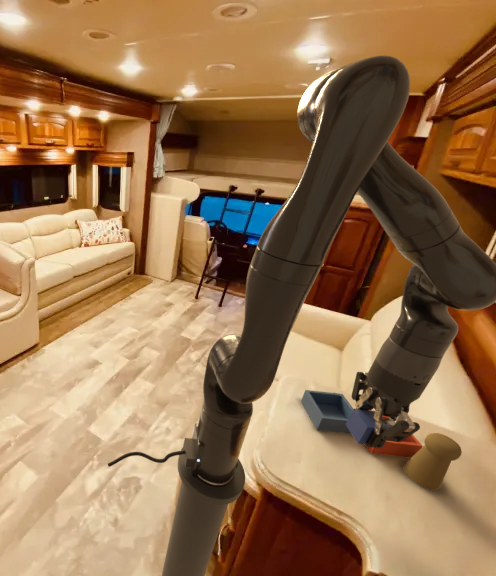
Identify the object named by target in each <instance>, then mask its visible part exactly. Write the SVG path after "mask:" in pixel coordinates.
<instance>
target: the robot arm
mask: <svg viewBox="0 0 496 576" xmlns="http://www.w3.org/2000/svg"><path fill="white" fill-rule="evenodd" d="M410 91H411V78H410V74H409V70H408V68H407V66H406V65H405V64H404V62H403V61H401V60H400V59H399V58H397V57H394V56H392V55H385V54H383V55H374V56H370V57H365V58H363V59H359V60H357V61H354V62H351V63H349V64H346V65H343V66H341V67H339V68H336V69H334V70H331V71H329V72H326V73H325V74H323V75H322V76H320V77H318V78H317V79H316V80H314V81H313V82H312V83H311V84H310V85H309V86H308V87H307V89H306V90H305V92H304V93H303V95H302V96H301V99H300V100H299V104H298V108H297V115H296V117H297V125H298V128H299V130H300V132H301V133H302V135H303V136H304V137H305V138H306V139H307V140H308V141H309V142H310V143H311V148H310V150H309V153H308V156H307V159H306V161H305V164H304V167H303V169H302V172H301V174H300V176H299V179H298V181H297V183H296V185H295V187H294V188H293V189H292V191H291V192H290V194H289V195H288V197H287V198H286V200H285V201H284V202H283V204H282V205H281V207H280V208H279V209H278V210H277V212H276V213H275V214H274V215H273V216H272V218H271V220H270V221H269V222H268V223H267V225H266V227H265V228H264V230H263V232H262V234H261V236H260V237H259V239H258V243H257V245H256V247H255V251H254V253H253V256H252V258H251V261H250V264H249V267H248V270H247V275H246V280H245V291H244V292H245V293H244V294H245V295H244V318H243V319H244V320H243V327H242V331H241V334H239V333H231V334H228V335H224V336H222V337H220V338H219V339H218V340H216V342H215V343H214V344H213V345H212V347H211V348H210V350H209V353H208V355H207V359H206V365H205V371H204V377H203V383H202V393H203V394H202V395H203V401H202V406H201V410H200V414H199V418H198V423H194V428H193V432H192V437H191V438H190V437H184V439H183V445H182V448H183V449H184V450H182V451H181V450H177V451H172V452H170V453H167V454H166V455H165V456H164V457H163V458H156V457H153V456H152V455H149V454H147V453H145V452H141V451H131V452H126V453H124V454H122V455H121V456H119V457H117V458H116V459H114V460H112V461H110V462H107V467H108V468H110V467H112V466H114V465H116V464H117V463H119V462H121V461H123V460H124V459H127V458H129V457H135V456H138V457H143V458H145V459H147V460H149V461H151V462H154V463H157V464H164V463H166V462H167V461H168V460H169V459H171V458H172V457H176V456H179V455H182V454H184V458H185V467H191V473H192V476H193V477H197V478H198V479H199V480H201V481H202V482H204V483H205V484H207V485H210V486H214V487H222V486H225V485H227V484H229V483H230V482H231V480H232V478H233V475H234V471H235V467H236V469H237V466H238V463H237V460H238V459H239V457H240V454H241V451H242V448H243V445H244V443H245V439H246V436H247V432H248V429H249V426H250V423H251V420H252V416H253V413H254V405H253V403H254V402H256V401H258V400H260V399H261V398H262V397H263V396H264V395H266V394H267V393H268V391H269V390H270V388H271V386H272V385H273V383H274V380H275V378H276V375H277V372H278V370H279V366H280V362H281V359H282V356H283V353H284V350H285V347H286V345H287V342H288V339H289V337H290V335H291V332H292V330H293V328H294V326H295V323H296V321H297V319H298V317H299V314H300V312H301V309H302V308H303V306H304V303H305V302H306V299H307V297H308V295H309V293H310V291H311V289H312V287H313V285H314V284H315V281H316V279H317V277H318V275H319V273H320V271H321V269H322V267H323V264H324V263H325V260H326V258H327V256H328V253H329V250H330V248H331V246H332V244H333V242H334V240H335V238H336V236H337V234H338V232H339V230H340V228H341V227H342V224H343V222H344V219H345V218H346V215H347V213H348V211H349V210H350V208H351V205H352V202H353V200H354V198H355V196H356V195H357V193H358V195H359V196H360V197H361V198H362V200H363V201H364V203H365V204H366V205H367V206H368V208H369V210H370V211H371V212H372V214H373V215H374V217H375V218H376V219H377V222H379V224H380V226H381V227H382V229H383V231H384V232H385V234H386V236H388V238H389V240H390V241H391V243H392V245H394V247H395V249H396V250H397V252H399V253H400V255H401V256H402V257H403V258H405V259H406V260H408V261H409V262H410V263H412V266H411V267H410V269H409V271H408V273H407V275H406V279H405V282H404V286H403V292H402V298H401V305H400V314H399V317H398V319H397V320H396V322H395V324H394V326H393V327H392V330H391V332H390V333H389V335H388V337H387V338H386V339H385V341H384V342H383V343H382V345H381V346H380V349H379V350H378V352H377V355H376V356H375V357H374V360H373V362H372V364H371V366H370V368H369V370H368V371H367V372H365V371H356V374H355V379H354V383H353V386H352V390H351V391H352V392H351V400H354V401H355V405H354V407H355V409H360V410H368V411H369V410H371V411H373V410H374V411H375V414H374V420H376V423H375V427H374V430H373V431H372V432H371V434H370V436H369V438H368V439H367V441H366V444H367V446H368V447H373V448H381V447H382V446H383V445H384V443H385V441H395V442H402V441H403V440H405V439H406V438H408V437H409V436H411V435H412V434H413V435H414V434H416V433H417V432H418V431H420V429H421V425H420V424H419V423H418V422H415V421H412V419H411V418H410V417H411V416H409V412H410V405H411V404H412V403H413V402H415V401H417V400H419V399H420V398H421V397H422V396H423V395H422V394H423V393H424V392H425V390H426V388H427V387H428V385H429V384H430V383H431V380H432V379H433V377H434V376H435V374H436V372H438V370H439V367H440V365H441V362H442V360H443V358H444V356H445V354H446V352H447V351H448V350H449V348H450V346H451V344H452V343H453V341H454V340H455V338H456V336H457V335H458V334H459V333H458V332H459V324H458V323H457V321H456V320H455V319H454V318H453V316H452V315H451V314H450V312H449V310H448V309H449V308H450V309H451V308H452V309H455V310H459V311H463V312H464V311H465V312H472V311H479V310H483V309H485V308H488V307H490V306H492V305H493V304H495V303H496V262H495V261H494V260H493V259H492V258H491V257H490V256H489V254H487V253H486V251H484V250H483V248H481V247H480V246H479V245H478V244H477V243H476V242H475V240H473V239H471V237H469V236H468V235H467V234H466V233H465V232H464V230H463V228H462V226H461V224H460V222H459V221H458V219H457V217H456V215H455V214H454V212H453V210H452V209H451V207H450V205H449V204H448V202H447V200H446V199H445V198H444V196H443V195H442V194H441V192H440V191H439V190H438V189H437V188H436V186H435V185H433V184H432V183H431V182H430V181H429V180H428V179H427V178H426V177H425V176H424V175H422V173H420V172H419V171H418V170H417V169H416V168H415V167H413V166H412V165H411V164H410V163H409V162H408V161H406V160H405V159H404V158H403V157H402V156H401V155H400V154H399V153H398V152H397V150H396V149H395V148H394V147H393V146H392V144H391V143H390V141H389V139H390V138H391V136H392V134H393V133H394V131H395V129H396V127H397V126H398V124H399V122H400V120H401V119H402V116H403V114H404V112H405V109H406V106H407V103H408V101H409V97H410ZM360 391H362V393H361V394H360ZM383 416H387V417H389V418H387V417H383ZM384 424H387V426H386V428H383V425H384Z"/></svg>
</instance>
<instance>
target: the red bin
mask: <svg viewBox="0 0 496 576" xmlns="http://www.w3.org/2000/svg"><path fill="white" fill-rule="evenodd" d="M369 411H372V410H369ZM364 446H365V447H366V449H367V450H368V452H369V453H370V454H374V455H375V454H376V455H384V456H389V457H399V458H407V459H410V458H412V457H413V456H414V455H415V454H416V453H417V452H418V451H419V450H420V449H421V448H422V447H423V446H424V445H423V444H422V443H421V442H420V441H419V440H418V438H417V437H416V436H415V435H414V434H412V435H411V436H409V437H408V438H406V439H405V440H403V441H402V442H395V441H386V443H385V444H384V446H383V447H381V448H373V447H368V446H367V445H364Z"/></svg>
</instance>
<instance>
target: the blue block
mask: <svg viewBox="0 0 496 576" xmlns="http://www.w3.org/2000/svg"><path fill="white" fill-rule="evenodd" d="M374 414H375V410H371V411H368V410H360V409H356V408H353V411H352V413H351V415H350V417H349V419H348V421H347V423H346V424H345V425H346V426H347V428H348V429H349V431H350V432H351V434H350V435H351V436H352V437H353V438H354V440H355V441H356V443H357V444H358V445H364V446H365V445H367V444H366V441H367V439H368V438H369V436H370V434H371V432H372V431H373V430H374V427H375V423H376V420H374ZM386 426H387V424H384V425H383V428H386ZM385 443H386V441H385ZM385 443H384V444H385ZM383 446H384V445H383ZM383 446H382V447H383Z"/></svg>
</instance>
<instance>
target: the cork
mask: <svg viewBox="0 0 496 576" xmlns="http://www.w3.org/2000/svg"><path fill="white" fill-rule="evenodd" d="M423 443H424V445H422V446H423V447H422V448H421V449H420V450H419V451H418V452H417V453H416V454H415V455H414V456H413V457H412V458H408V460H407V461H406V462H405V463H404V464H403V466H402V468H403V472H404V473H405V474H406V476H407V477H408V478H409V479H410V480H412V482H414V483H415V484H418V486H420V487H422V488H424V489H427V490H431V491H437V490H440V488H441V486H442V483H443V481H444V480H445V476H446V475H447V472H448V470H449V467H450V466H451V463H452V462H453V461H456V460H458V459H460V457H461V456H462V453H463V451H462V447H461V445H460V444H459V443H458V442H457V441H456V440H454V439H453V438H451V437H449V436H447V435H445V434H443V433H440V432H431V433H429V434H427V435H426V437H425V438H424V441H423Z"/></svg>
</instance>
